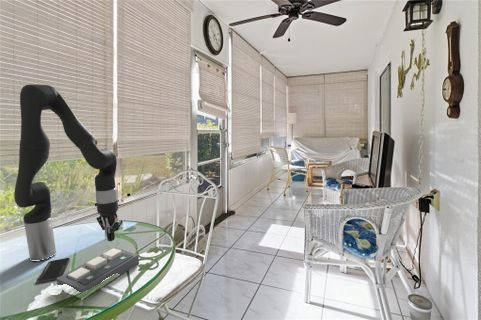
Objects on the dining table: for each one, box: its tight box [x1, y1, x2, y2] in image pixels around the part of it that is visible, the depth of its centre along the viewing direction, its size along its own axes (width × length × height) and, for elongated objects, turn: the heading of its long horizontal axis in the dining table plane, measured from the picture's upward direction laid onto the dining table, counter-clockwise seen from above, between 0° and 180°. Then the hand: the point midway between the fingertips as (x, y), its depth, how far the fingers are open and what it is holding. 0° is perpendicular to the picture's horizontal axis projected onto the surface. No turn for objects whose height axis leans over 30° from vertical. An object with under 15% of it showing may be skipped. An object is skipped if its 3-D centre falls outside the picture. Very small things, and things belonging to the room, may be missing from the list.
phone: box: [36, 257, 71, 284], centre depth 103 cm, size 8×1×15 cm
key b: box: [85, 255, 107, 270], centre depth 100 cm, size 5×5×2 cm
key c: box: [102, 247, 122, 261], centre depth 106 cm, size 5×5×2 cm
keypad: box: [56, 247, 140, 292], centre depth 99 cm, size 14×24×4 cm, turn 154°
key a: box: [68, 267, 90, 281], centre depth 93 cm, size 5×5×2 cm
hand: (111, 240), depth 105 cm, fingers closed
